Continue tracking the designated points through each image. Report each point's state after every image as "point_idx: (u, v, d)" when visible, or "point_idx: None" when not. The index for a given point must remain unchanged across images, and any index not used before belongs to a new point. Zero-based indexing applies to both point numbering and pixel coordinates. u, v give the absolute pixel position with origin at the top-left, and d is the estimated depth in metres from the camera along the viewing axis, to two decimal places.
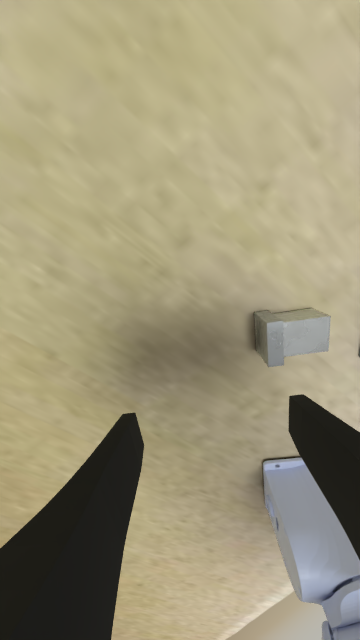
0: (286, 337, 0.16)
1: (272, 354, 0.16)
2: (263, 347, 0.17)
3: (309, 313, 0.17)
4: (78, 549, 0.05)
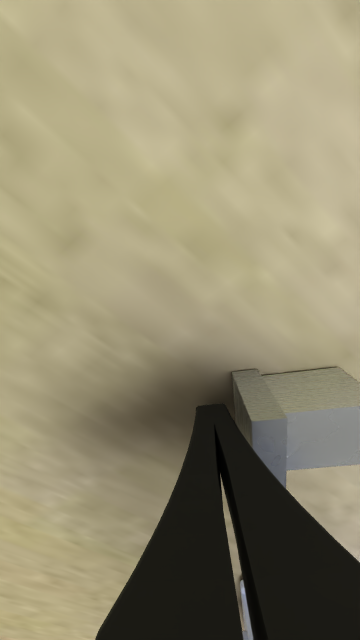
0: (293, 439, 0.08)
1: None
2: None
3: (337, 385, 0.08)
4: None
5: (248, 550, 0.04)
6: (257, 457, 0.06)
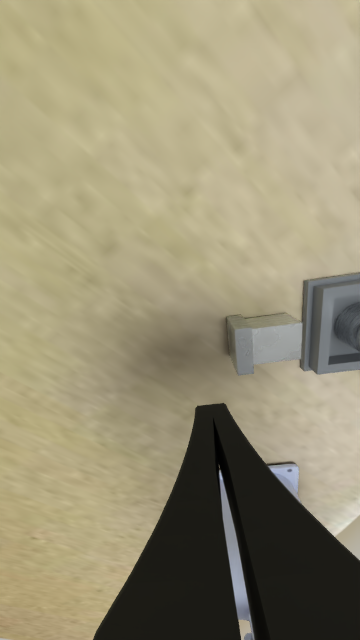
0: (257, 344, 0.15)
1: (241, 362, 0.15)
2: (233, 354, 0.16)
3: (282, 319, 0.16)
4: None
5: (250, 550, 0.04)
6: (258, 457, 0.06)
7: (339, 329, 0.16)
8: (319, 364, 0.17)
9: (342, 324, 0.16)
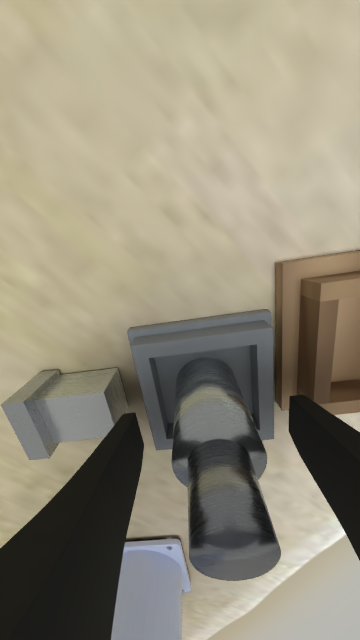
0: (52, 419, 0.11)
1: (27, 444, 0.11)
2: None
3: (95, 381, 0.12)
4: (78, 549, 0.05)
5: None
6: None
7: None
8: (155, 438, 0.12)
9: None
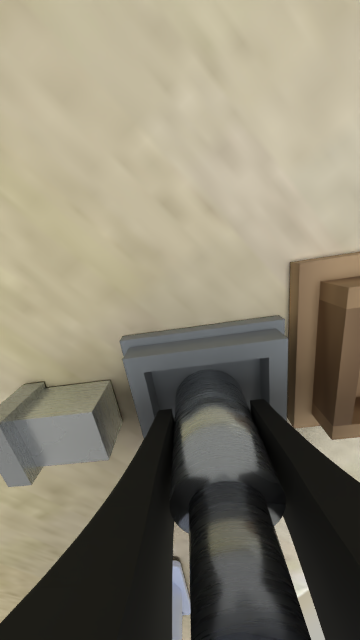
0: (34, 441, 0.10)
1: (5, 470, 0.10)
2: None
3: (84, 396, 0.10)
4: (149, 544, 0.05)
5: (346, 544, 0.04)
6: (319, 451, 0.06)
7: None
8: None
9: (175, 407, 0.10)
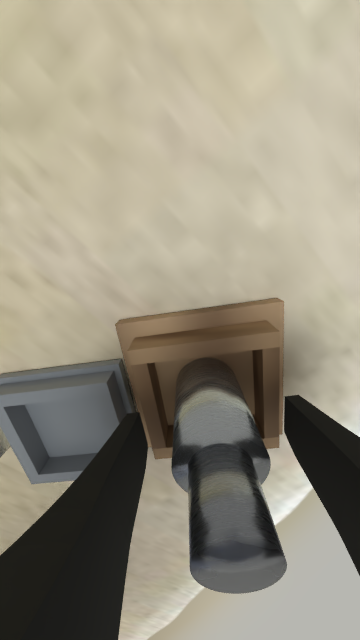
0: None
1: None
2: None
3: None
4: (86, 549, 0.05)
5: None
6: None
7: None
8: (28, 474, 0.14)
9: None
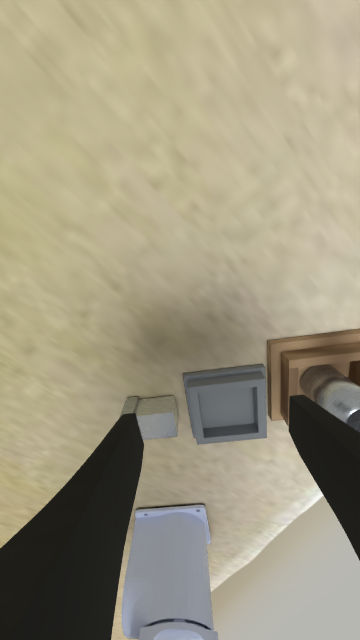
0: (142, 426, 0.20)
1: None
2: None
3: (164, 404, 0.21)
4: (78, 549, 0.05)
5: None
6: None
7: (303, 385, 0.19)
8: (197, 437, 0.21)
9: (306, 383, 0.19)
